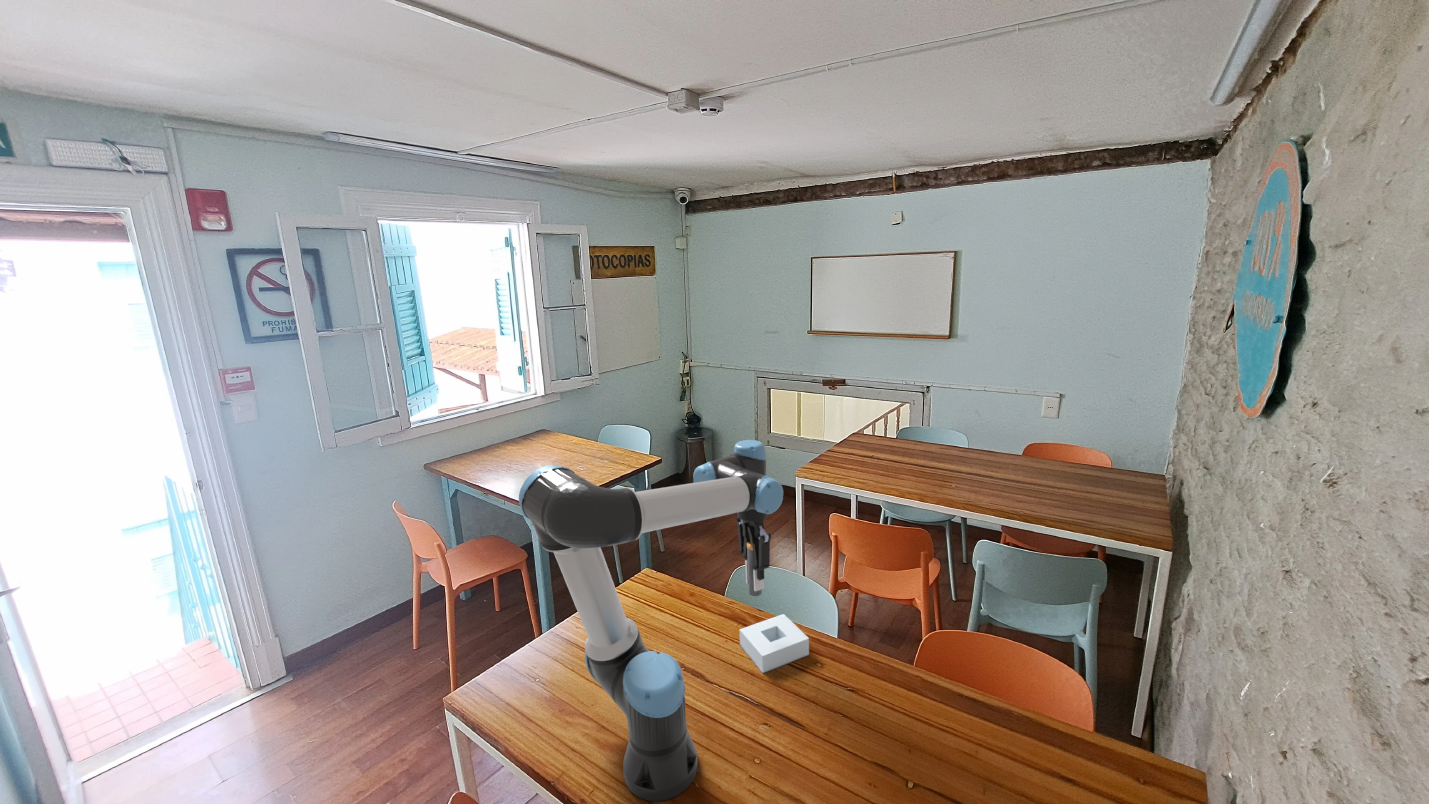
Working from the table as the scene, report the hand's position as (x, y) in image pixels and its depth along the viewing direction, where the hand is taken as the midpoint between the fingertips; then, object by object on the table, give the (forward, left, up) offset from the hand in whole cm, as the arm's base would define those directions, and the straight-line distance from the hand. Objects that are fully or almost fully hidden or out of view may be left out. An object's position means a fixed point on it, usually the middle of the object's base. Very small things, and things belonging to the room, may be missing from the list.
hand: (755, 585), depth 142 cm
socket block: (-3, -4, -19) cm, 19 cm away
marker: (0, 0, -2) cm, 2 cm away
